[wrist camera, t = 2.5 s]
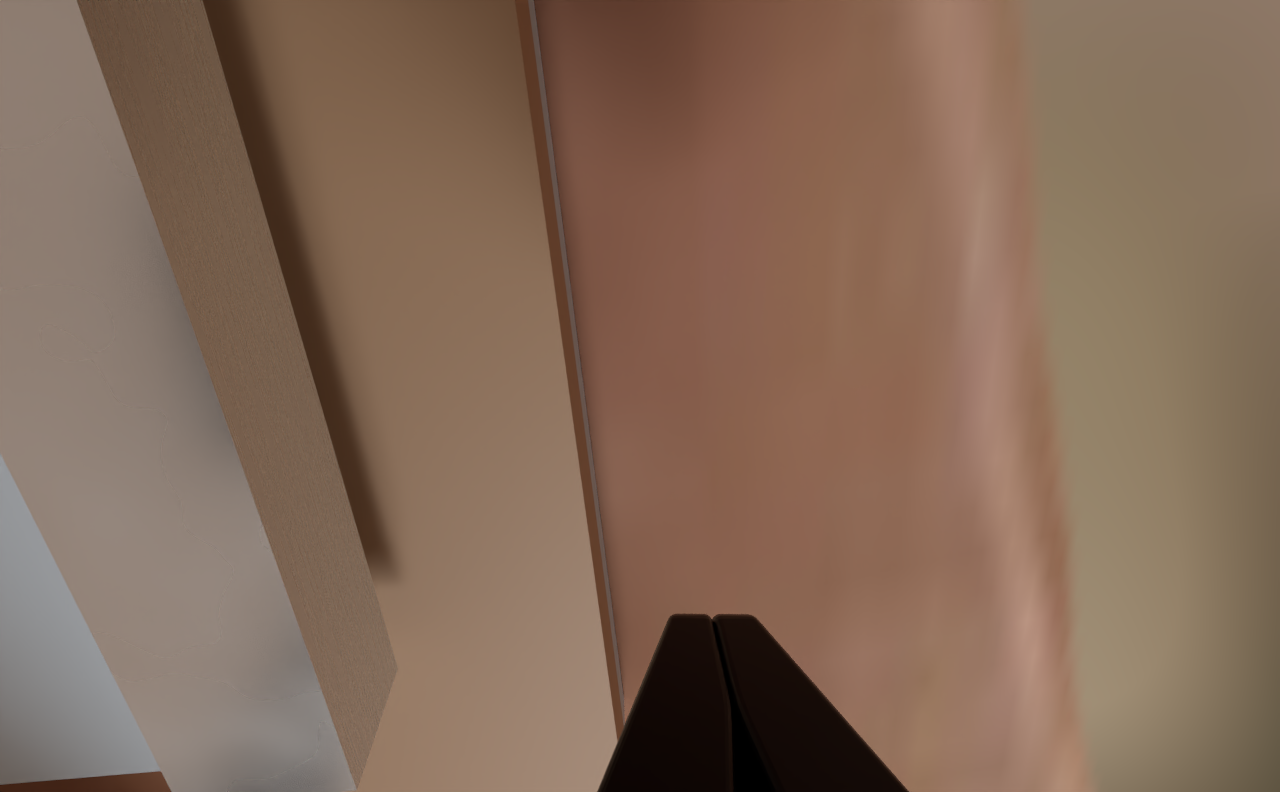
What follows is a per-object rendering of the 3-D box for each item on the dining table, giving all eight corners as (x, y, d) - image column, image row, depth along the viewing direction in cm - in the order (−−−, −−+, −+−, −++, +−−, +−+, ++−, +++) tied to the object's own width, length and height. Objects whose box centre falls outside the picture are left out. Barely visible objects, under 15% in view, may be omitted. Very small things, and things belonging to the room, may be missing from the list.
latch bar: (-363, -641, 6) (-997, -1070, 3) (71, -687, 6) (-285, -1149, 3) (213, 684, 11) (113, 847, 9) (432, 665, 11) (387, 825, 9)
